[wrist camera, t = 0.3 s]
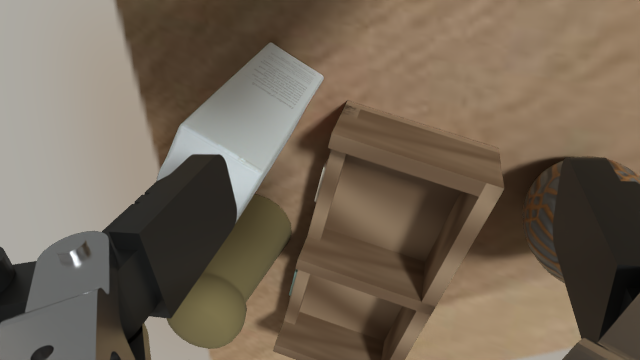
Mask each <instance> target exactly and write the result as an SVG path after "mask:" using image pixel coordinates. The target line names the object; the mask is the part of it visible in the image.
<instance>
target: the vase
mask: <svg viewBox="0 0 640 360" xmlns="http://www.w3.org/2000/svg"><path fill="white" fill-rule="evenodd" d="M584 158H599V157H584ZM607 160H608V159H607ZM608 161H609V163H610V164H611V166H612V167H613V169H614V171H615V172H616V174H617V176H618V177H619V179H620V180H621V181H635V182H637V183H638V184H640V176H638V175H637V174H636V173H635V172H633V171H632V170H630V169H629V168H627V167H625V166H623V165H621V164H619V163H617V162H614V161H611V160H608ZM562 163H563V161H561V162H559V163H556V164H554V165H552V166H551V167H549V168H548V169H546V170H545V171H544V172H542V173H541V174H540V175H539V176H538V177H537V178H536V180H535V181H534V182H533V184H532V185H531V187H530V189H529V191H528V193H527V195H526V198H525V202H524V206H523V226H524V232H525V236H526V240H527V242H528V244H529V247H530V249H531V251H532V252H533V254H534V255H535V257H536V258H537V260H538V261H539V262H540V264H541V265H542V266H543V267H544V268H545V269H546V270H547V271H548V272H549V273H550V274H551V275H553V276H554V277H555V278H557V279H558V280H560V281H562V282H563V283H565V281H564V278H563V275H562V271H561V268H560V265H559V261H558V258H557V254H556V251H555V248H554V243H553V217H554V211H555V205H556V198H557V192H558V185H559V179H560V173H561V167H562Z"/></svg>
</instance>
